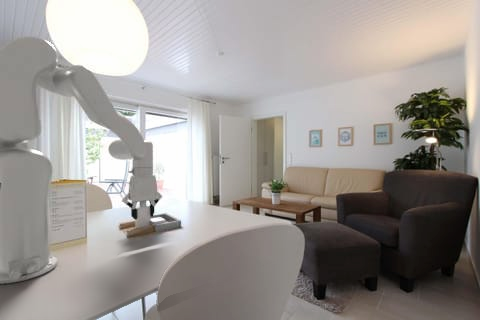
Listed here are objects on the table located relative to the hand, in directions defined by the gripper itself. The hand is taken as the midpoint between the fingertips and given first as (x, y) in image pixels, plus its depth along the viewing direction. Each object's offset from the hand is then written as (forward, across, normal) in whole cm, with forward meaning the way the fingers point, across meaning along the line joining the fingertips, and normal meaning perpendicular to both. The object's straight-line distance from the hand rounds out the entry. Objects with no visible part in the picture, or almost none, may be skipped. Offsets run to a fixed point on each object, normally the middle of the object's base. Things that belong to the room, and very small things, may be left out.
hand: (143, 216), depth 91 cm
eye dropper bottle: (+4, 0, 0) cm, 4 cm away
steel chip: (+5, +5, 0) cm, 7 cm away
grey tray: (+5, +7, 0) cm, 9 cm away
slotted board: (+6, +3, 0) cm, 6 cm away
